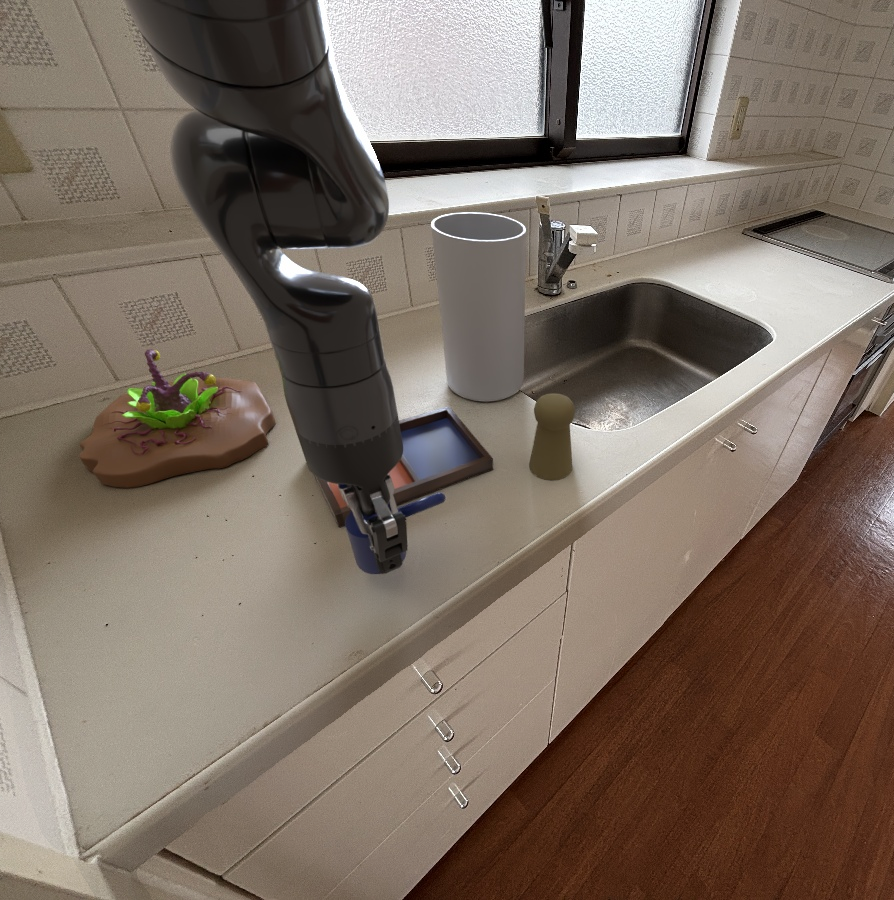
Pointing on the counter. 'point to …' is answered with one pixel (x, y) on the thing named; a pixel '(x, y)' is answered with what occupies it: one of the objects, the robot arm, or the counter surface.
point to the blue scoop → (361, 541)
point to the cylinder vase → (481, 302)
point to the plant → (176, 428)
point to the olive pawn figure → (552, 437)
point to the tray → (425, 460)
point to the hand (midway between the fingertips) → (380, 549)
